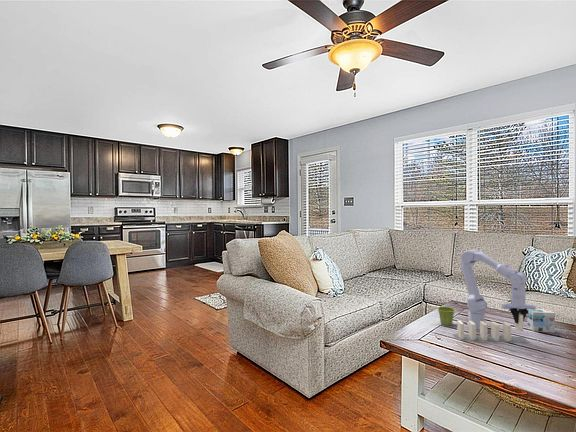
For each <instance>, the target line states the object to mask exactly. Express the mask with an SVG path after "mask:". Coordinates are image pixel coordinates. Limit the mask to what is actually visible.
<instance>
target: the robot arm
mask: <svg viewBox="0 0 576 432" xmlns="http://www.w3.org/2000/svg"><path fill="white" fill-rule="evenodd" d="M460 258H461V260H460V268H461V273H462V275H463V279H464V283H465V287H466V289H467V292H468V297H467V305H466V307H467V309H468V313H467V318H468V319H467V321H472V322H473V323H475V324H476V330H477V331H480V321H483V322H484V323H486V316H485V315H486V314H485V313H486V311H485V310H487V308H488V303H487V302H486V300H485V298H484V296H483V295H481V294H480V291H479V286H478V284H477V279H476V277H475V273H474V269H473V266H474V264H475V263H476V262H482V263H483V264H486V265H488V266H489V267H491V268H493V269H495V270H496V271H495V272H496V273H497V274H498V275H500V276H502V277H504V278H505V279H507V280H509V283H510V284H511V303H503V304H501V309H503V310H509V311H510V313H511V314H512V317H513V320H514V324H515V323H517V324H518V317H519V313H520V314H522V315H523V323H524V321H525V318H526V316H527V314H528V310H527V309H533V310H536V309H537V308H536V307H537V306H536V305H535V304H528V303H527V304H526V283H527V282H528V277H527V274H525V273H524V272H523V271H518V270H517V269H514V268H512V267H510V266H509V264H508V263H499V262H498V261H496V260H495V259H493V258H491V257H490V256H489V255H487V254H485V252H484V251H481V250H480V249H477V248H474V249H469V250H468V249H467V250H465V251H462V253H461V255H460ZM466 325H467V326H468V327H469V323H468V322H466ZM488 330H489V329H488V328H487V331H488Z"/></svg>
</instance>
